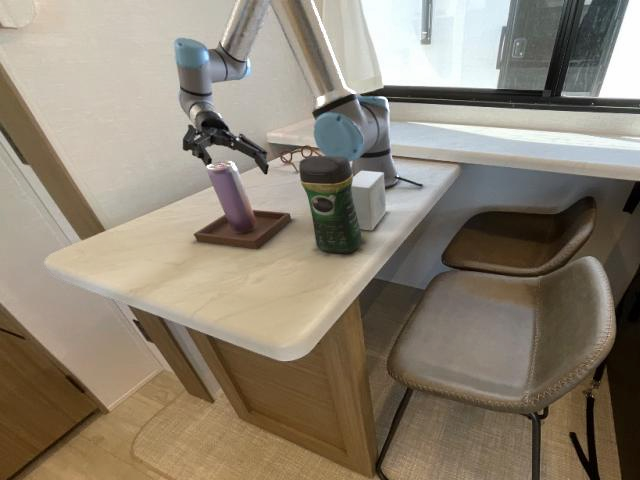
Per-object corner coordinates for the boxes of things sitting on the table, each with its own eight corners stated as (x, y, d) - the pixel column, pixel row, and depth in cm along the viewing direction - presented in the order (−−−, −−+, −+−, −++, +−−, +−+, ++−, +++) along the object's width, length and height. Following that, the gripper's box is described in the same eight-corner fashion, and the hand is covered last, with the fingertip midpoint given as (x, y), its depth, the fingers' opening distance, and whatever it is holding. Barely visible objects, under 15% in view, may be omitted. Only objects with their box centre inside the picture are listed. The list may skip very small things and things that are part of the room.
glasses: (313, 157, 124) (310, 143, 121) (329, 164, 116) (326, 149, 113) (281, 165, 118) (277, 150, 115) (296, 172, 110) (293, 157, 107)
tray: (291, 220, 80) (289, 213, 79) (257, 249, 70) (254, 241, 68) (237, 215, 84) (234, 208, 83) (197, 241, 74) (193, 233, 72)
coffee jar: (366, 238, 71) (355, 151, 59) (353, 257, 65) (339, 164, 54) (327, 235, 73) (309, 149, 62) (312, 252, 68) (288, 162, 56)
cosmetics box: (373, 231, 74) (368, 186, 67) (348, 228, 75) (341, 184, 69) (387, 212, 81) (384, 171, 75) (364, 210, 83) (359, 169, 76)
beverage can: (242, 236, 74) (216, 170, 64) (227, 231, 76) (199, 166, 67) (263, 226, 77) (240, 162, 68) (247, 221, 80) (224, 159, 70)
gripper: (253, 145, 98) (284, 184, 90) (155, 129, 80) (181, 176, 72) (257, 120, 93) (289, 159, 85) (153, 98, 76) (181, 144, 68)
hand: (240, 167), depth 79 cm, fingers open, 13 cm apart
